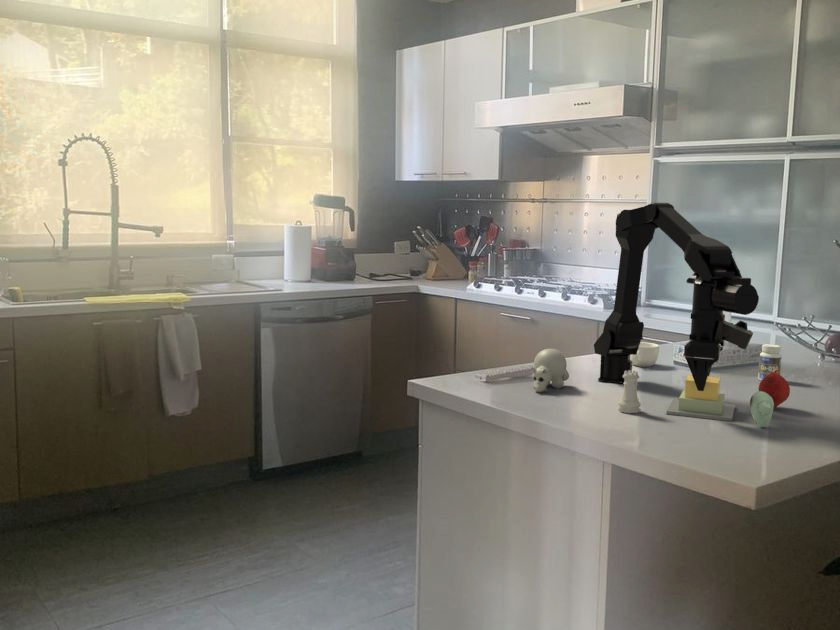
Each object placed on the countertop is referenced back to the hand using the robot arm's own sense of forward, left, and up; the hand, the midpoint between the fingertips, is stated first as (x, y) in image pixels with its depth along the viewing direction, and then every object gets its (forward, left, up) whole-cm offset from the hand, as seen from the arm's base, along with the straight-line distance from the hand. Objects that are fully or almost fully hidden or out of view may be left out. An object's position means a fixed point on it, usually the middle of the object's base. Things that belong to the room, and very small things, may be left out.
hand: (702, 386), depth 160 cm
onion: (+13, +9, -5) cm, 17 cm away
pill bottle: (+12, +38, -5) cm, 40 cm away
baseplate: (0, 0, -5) cm, 5 cm away
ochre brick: (0, 0, -2) cm, 2 cm away
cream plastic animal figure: (-33, +5, -5) cm, 34 cm away
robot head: (+11, -8, -5) cm, 15 cm away
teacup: (-18, +42, -5) cm, 46 cm away
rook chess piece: (-13, -7, -5) cm, 16 cm away
